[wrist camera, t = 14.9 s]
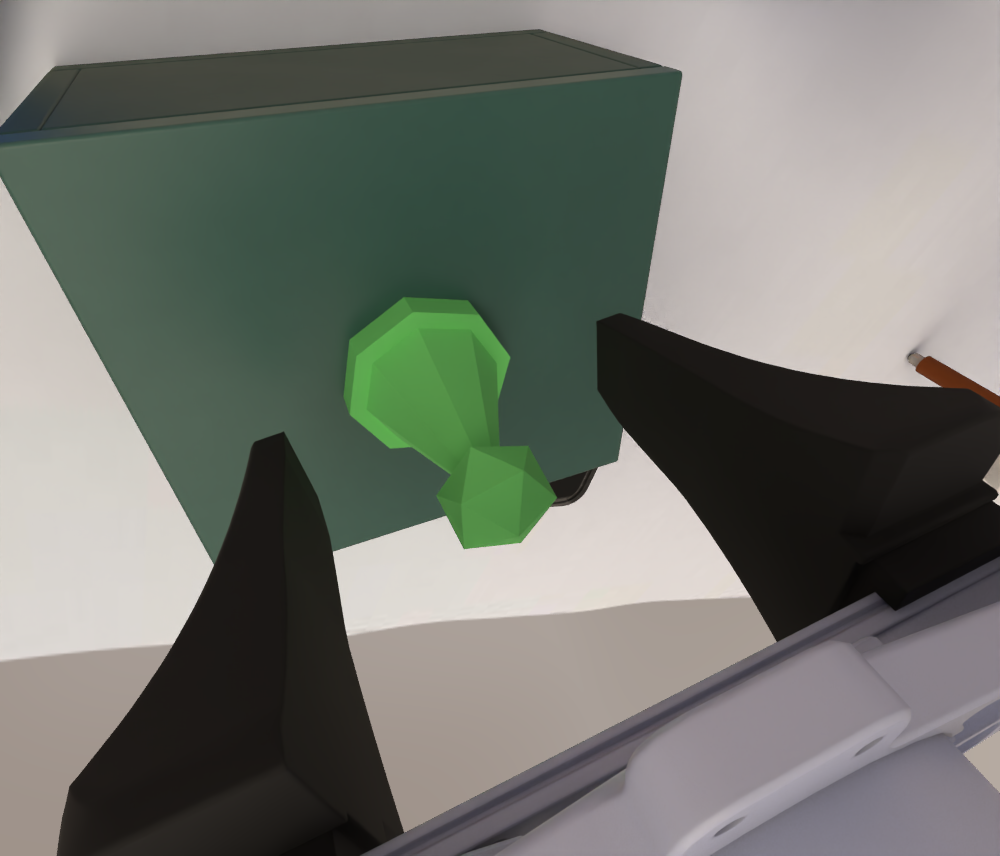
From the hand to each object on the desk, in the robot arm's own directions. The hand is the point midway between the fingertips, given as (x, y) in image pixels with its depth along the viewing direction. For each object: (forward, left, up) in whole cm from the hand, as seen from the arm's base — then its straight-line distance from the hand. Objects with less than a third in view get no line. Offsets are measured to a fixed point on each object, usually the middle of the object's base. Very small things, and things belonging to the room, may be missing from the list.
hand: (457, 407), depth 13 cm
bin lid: (0, +1, -3) cm, 3 cm away
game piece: (0, +1, -3) cm, 3 cm away
